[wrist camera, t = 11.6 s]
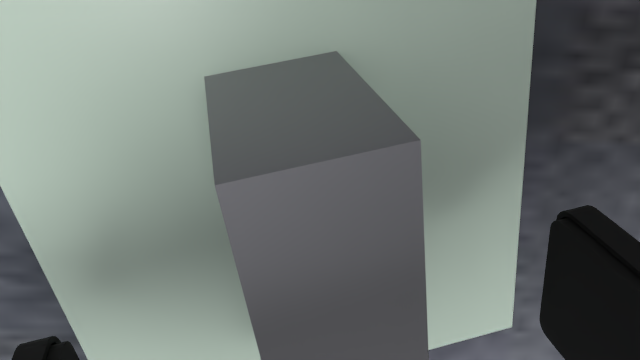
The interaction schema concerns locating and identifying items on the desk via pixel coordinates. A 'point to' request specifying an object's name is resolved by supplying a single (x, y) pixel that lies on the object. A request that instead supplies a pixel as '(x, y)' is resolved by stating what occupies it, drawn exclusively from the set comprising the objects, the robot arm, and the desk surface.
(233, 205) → the lid
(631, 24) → the desk surface
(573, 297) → the robot arm
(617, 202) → the desk surface
